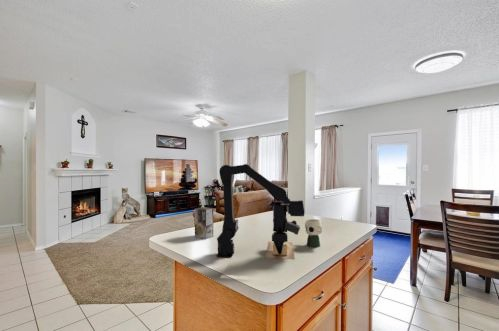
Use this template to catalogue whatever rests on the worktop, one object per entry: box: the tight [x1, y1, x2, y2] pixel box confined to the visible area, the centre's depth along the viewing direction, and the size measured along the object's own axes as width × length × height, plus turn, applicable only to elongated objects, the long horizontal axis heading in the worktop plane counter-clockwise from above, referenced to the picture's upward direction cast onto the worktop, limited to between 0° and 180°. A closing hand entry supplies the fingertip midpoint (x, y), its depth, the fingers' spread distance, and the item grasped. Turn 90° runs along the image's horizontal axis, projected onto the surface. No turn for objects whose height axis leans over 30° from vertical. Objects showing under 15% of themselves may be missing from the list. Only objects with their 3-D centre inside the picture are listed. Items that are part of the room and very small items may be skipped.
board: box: [265, 241, 296, 260], centre depth 104 cm, size 12×22×1 cm, turn 172°
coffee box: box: [194, 206, 214, 240], centre depth 129 cm, size 9×6×16 cm
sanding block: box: [272, 241, 287, 255], centre depth 98 cm, size 6×4×4 cm, turn 82°
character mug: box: [304, 218, 323, 248], centre depth 109 cm, size 11×7×13 cm, turn 30°
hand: (280, 252), depth 98 cm, fingers closed on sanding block, 4 cm apart
